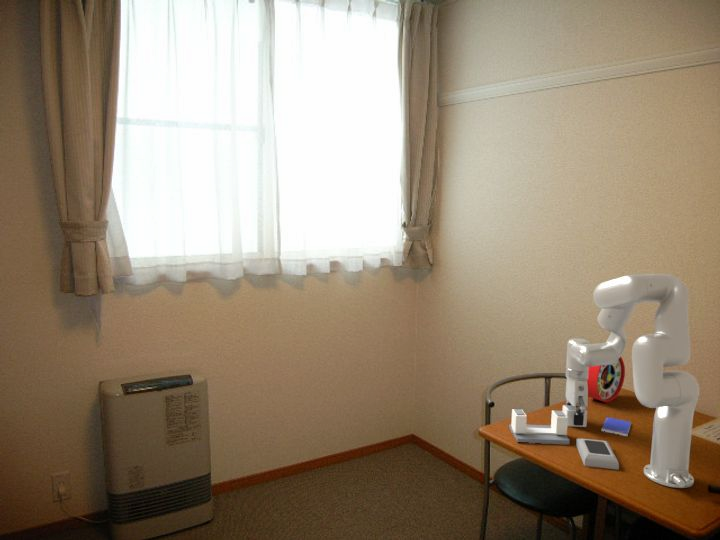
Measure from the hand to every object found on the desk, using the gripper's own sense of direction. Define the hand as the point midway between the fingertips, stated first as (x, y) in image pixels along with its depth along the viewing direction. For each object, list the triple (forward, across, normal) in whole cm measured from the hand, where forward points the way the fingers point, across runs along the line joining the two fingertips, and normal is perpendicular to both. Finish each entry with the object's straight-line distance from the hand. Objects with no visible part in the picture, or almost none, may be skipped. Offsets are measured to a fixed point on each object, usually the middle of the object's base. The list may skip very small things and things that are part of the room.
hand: (574, 420), depth 193 cm
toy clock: (+2, +26, -20) cm, 33 cm away
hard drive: (+2, -2, -14) cm, 14 cm away
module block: (+1, 0, 0) cm, 1 cm away
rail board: (+1, -12, +16) cm, 20 cm away
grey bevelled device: (+2, -26, +2) cm, 26 cm away
